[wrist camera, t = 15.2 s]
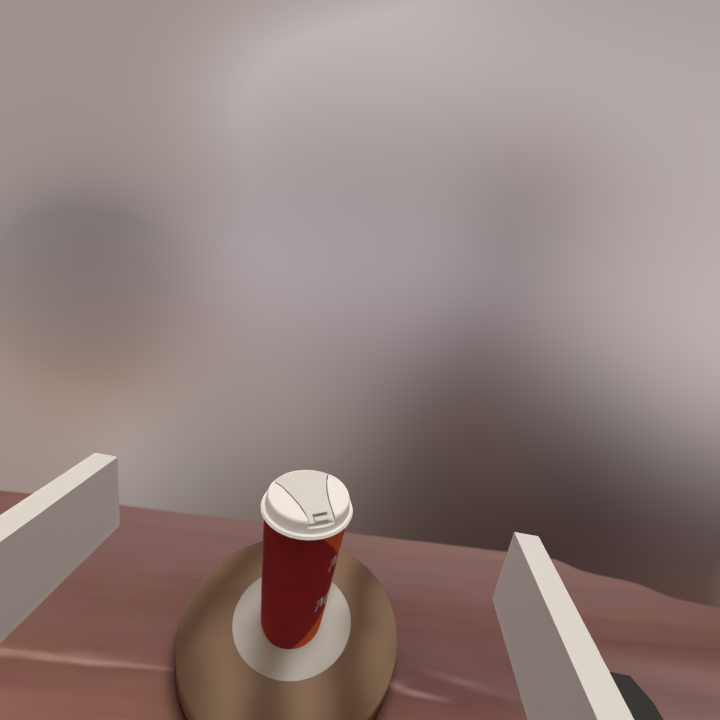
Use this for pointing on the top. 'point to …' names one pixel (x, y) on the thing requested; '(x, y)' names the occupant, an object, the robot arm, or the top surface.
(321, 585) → the paper cup
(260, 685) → the disc
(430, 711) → the top surface
